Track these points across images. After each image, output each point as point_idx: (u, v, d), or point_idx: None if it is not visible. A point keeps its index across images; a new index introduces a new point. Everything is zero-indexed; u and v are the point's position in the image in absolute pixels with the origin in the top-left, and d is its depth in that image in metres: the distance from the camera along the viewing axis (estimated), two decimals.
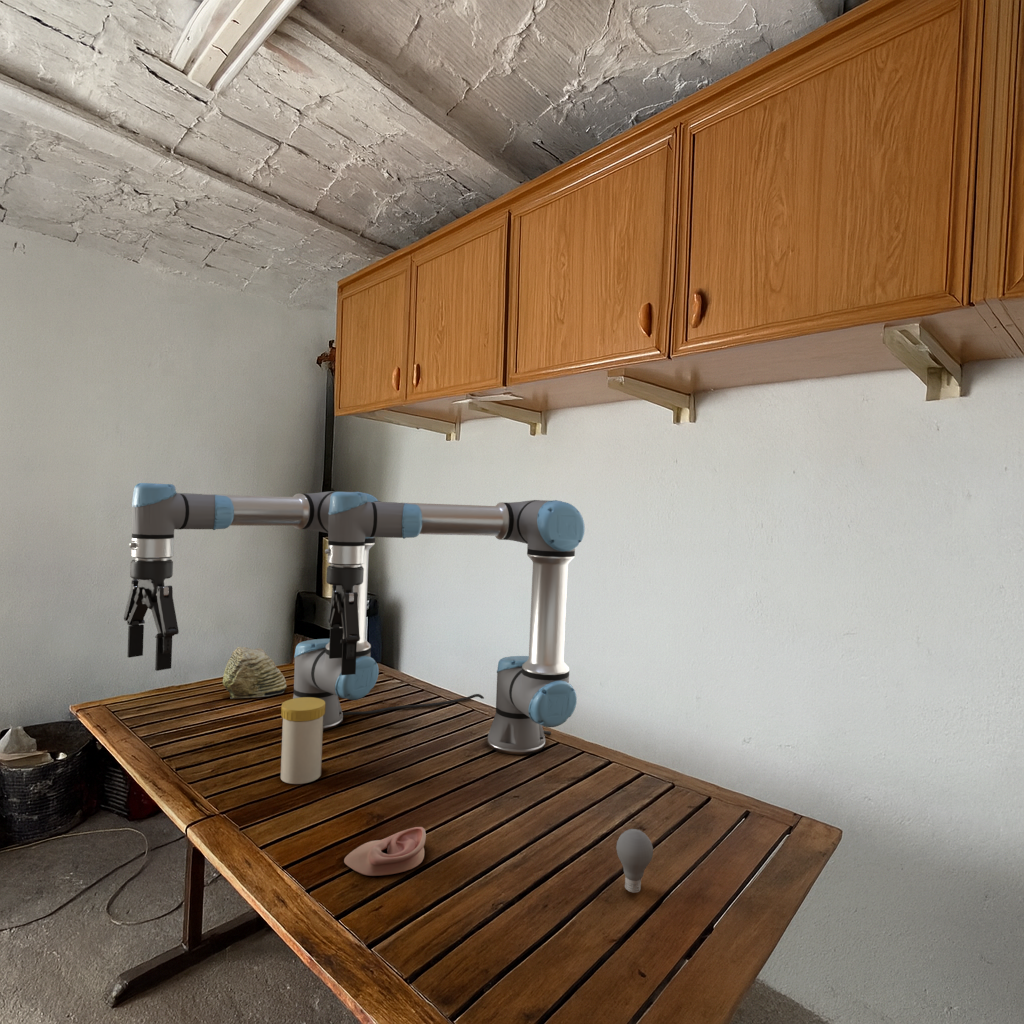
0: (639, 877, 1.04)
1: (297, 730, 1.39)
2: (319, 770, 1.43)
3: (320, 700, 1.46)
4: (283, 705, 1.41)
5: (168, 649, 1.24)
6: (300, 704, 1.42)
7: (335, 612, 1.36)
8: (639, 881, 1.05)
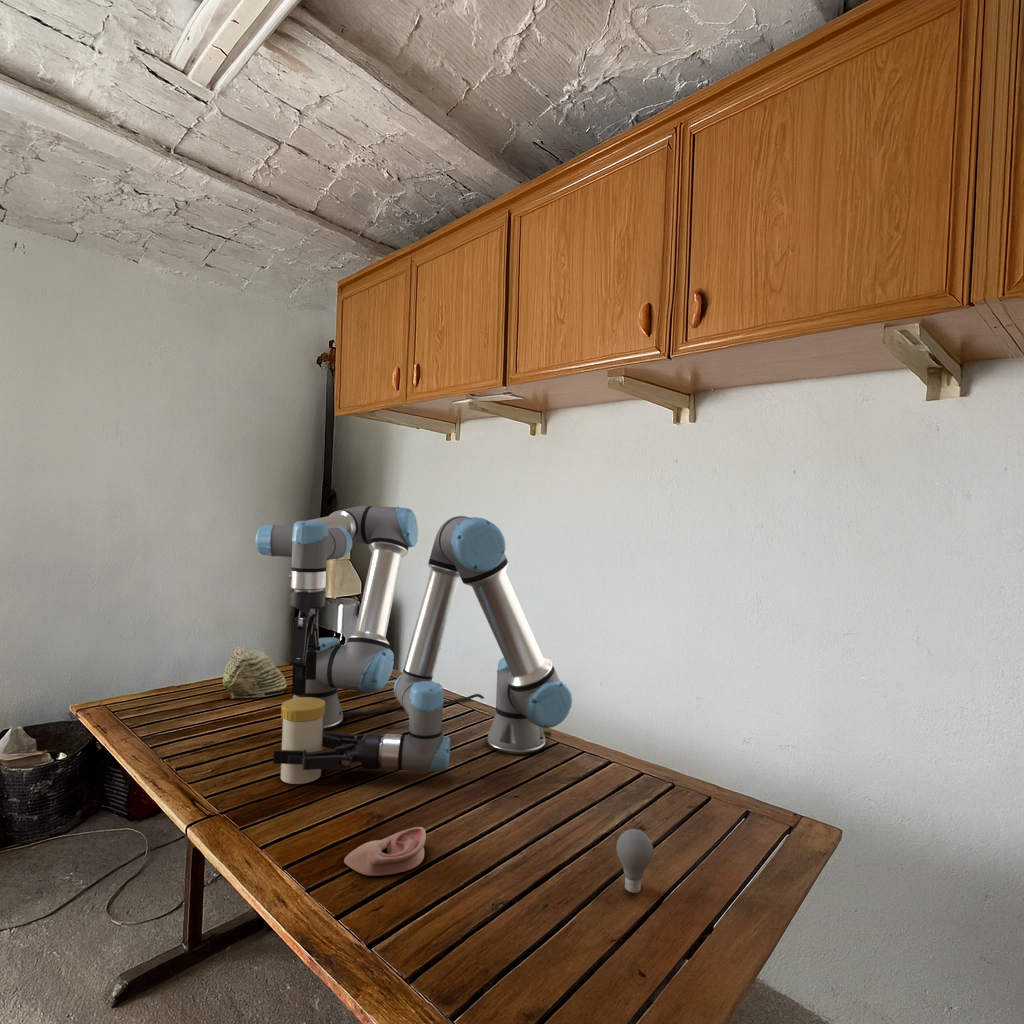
0: (639, 877, 1.04)
1: (297, 730, 1.39)
2: (319, 770, 1.43)
3: (320, 700, 1.46)
4: (283, 705, 1.41)
5: (299, 677, 1.36)
6: (300, 704, 1.42)
7: None
8: (639, 881, 1.05)
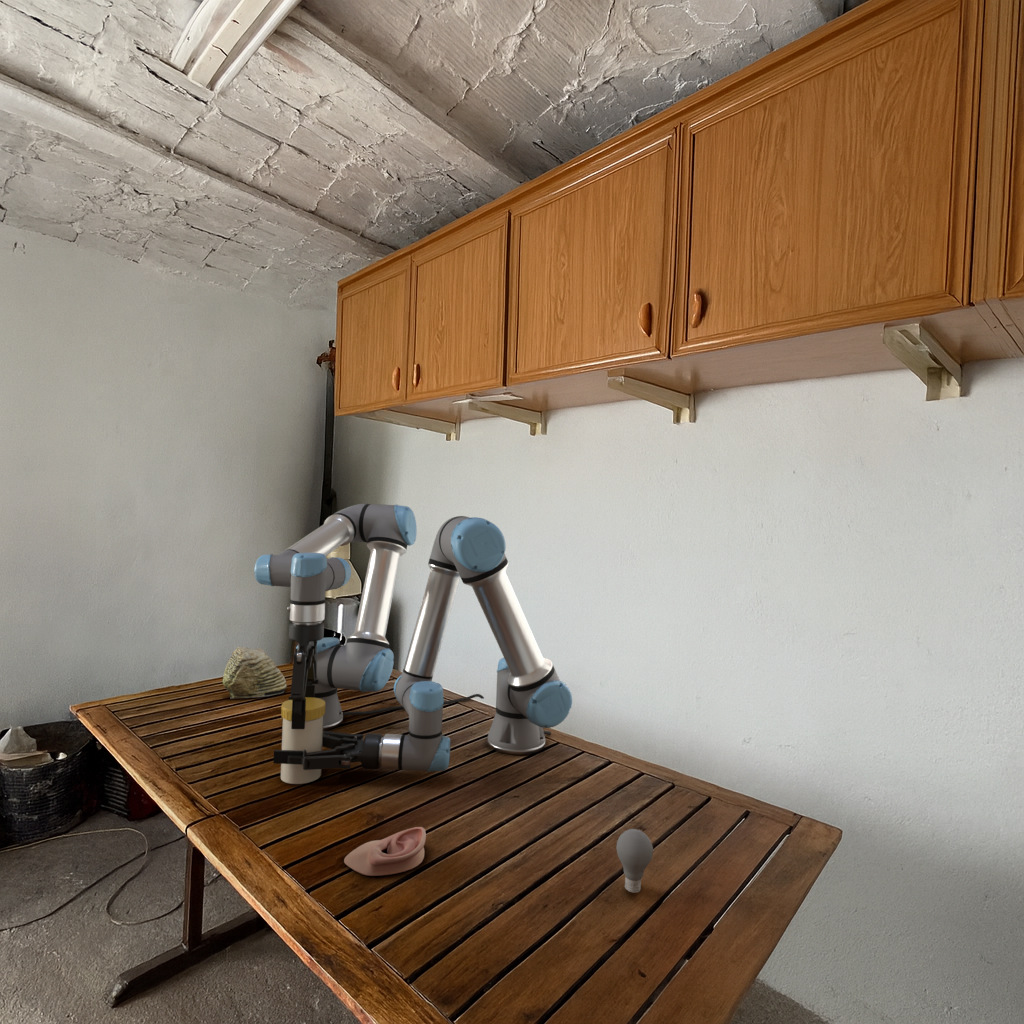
0: (639, 877, 1.04)
1: (297, 730, 1.39)
2: (319, 770, 1.43)
3: (320, 700, 1.46)
4: (283, 705, 1.41)
5: (298, 711, 1.37)
6: None
7: None
8: (639, 881, 1.05)
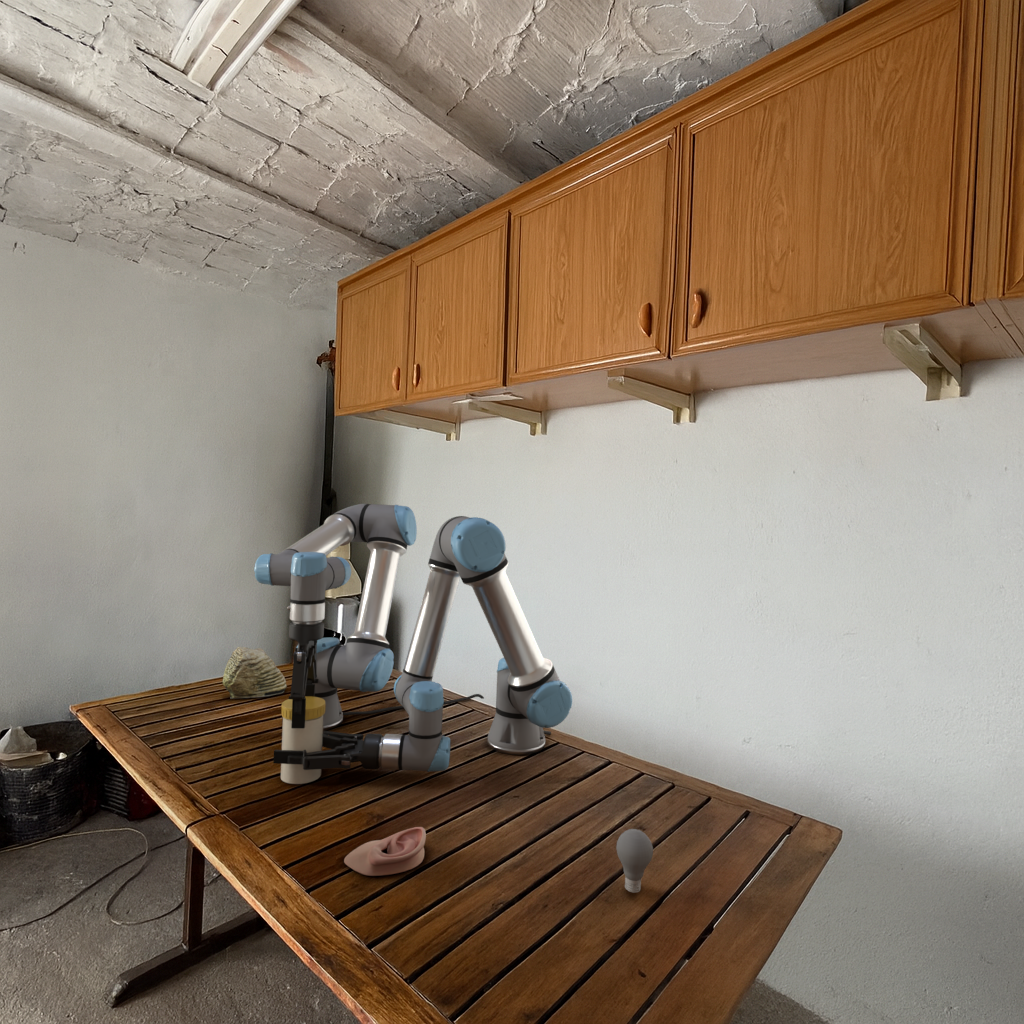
0: (639, 877, 1.04)
1: (297, 730, 1.39)
2: (319, 770, 1.43)
3: None
4: None
5: (298, 711, 1.37)
6: None
7: None
8: (639, 881, 1.05)
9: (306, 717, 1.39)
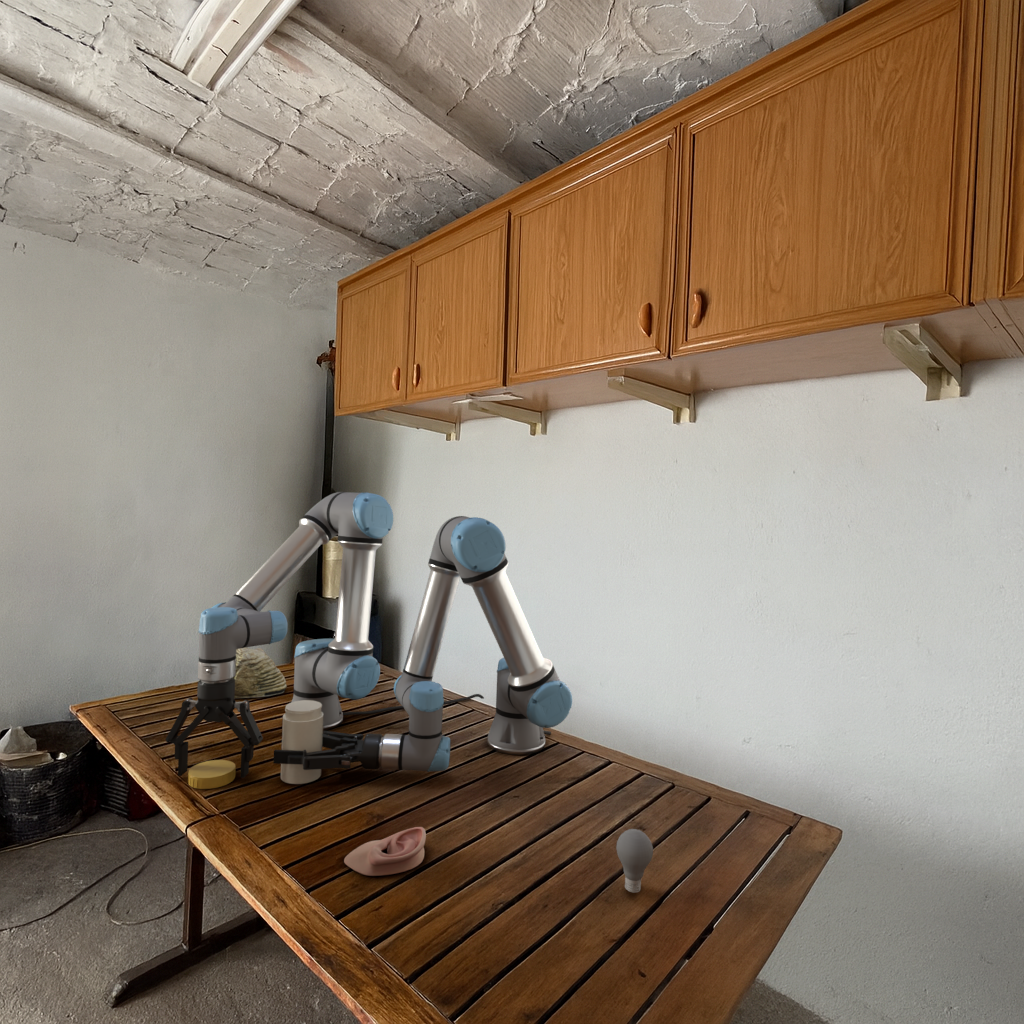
0: (639, 877, 1.04)
1: (297, 730, 1.39)
2: (319, 770, 1.43)
3: (192, 771, 1.37)
4: (233, 767, 1.41)
5: (252, 756, 1.40)
6: (216, 767, 1.40)
7: None
8: (639, 881, 1.05)
9: (235, 774, 1.41)
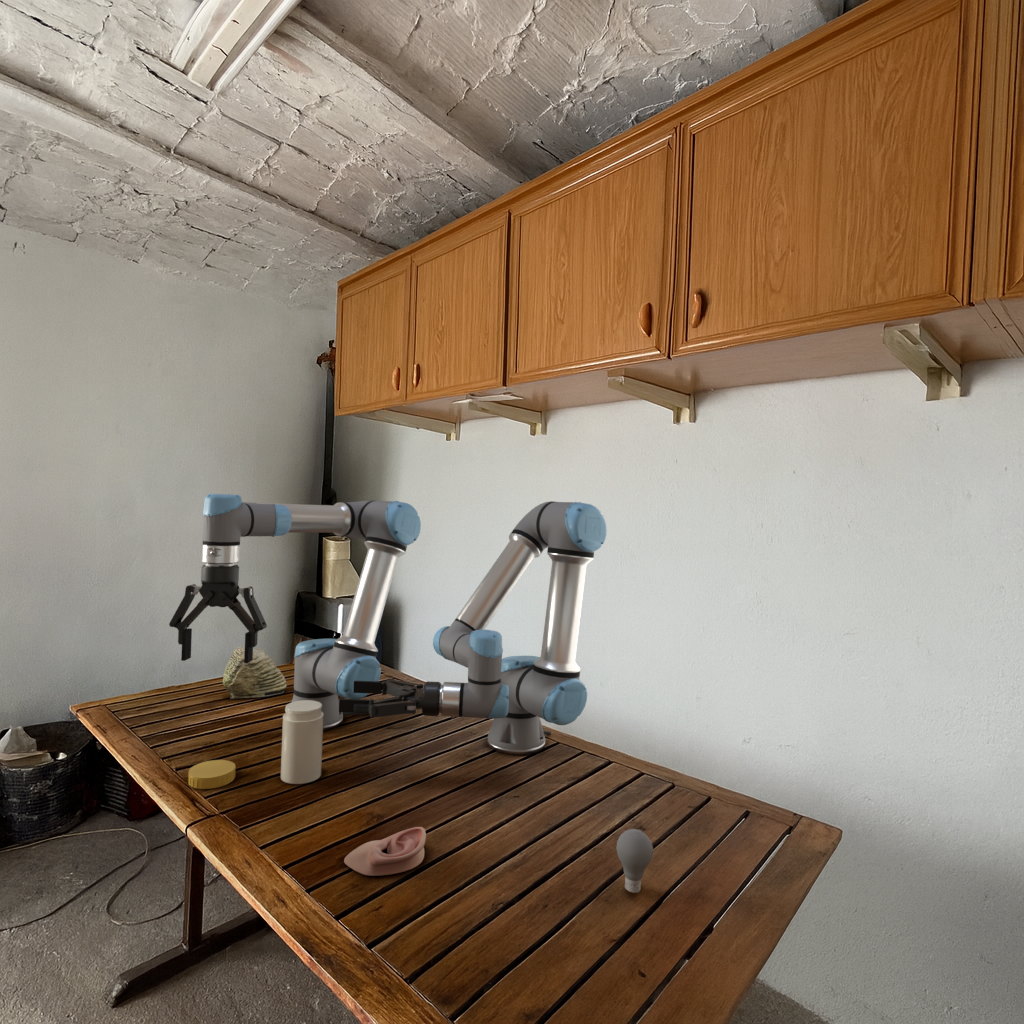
0: (639, 877, 1.04)
1: (297, 730, 1.39)
2: (319, 770, 1.43)
3: (192, 771, 1.37)
4: (233, 767, 1.41)
5: (256, 642, 1.40)
6: (216, 767, 1.40)
7: None
8: (639, 881, 1.05)
9: (235, 774, 1.41)
